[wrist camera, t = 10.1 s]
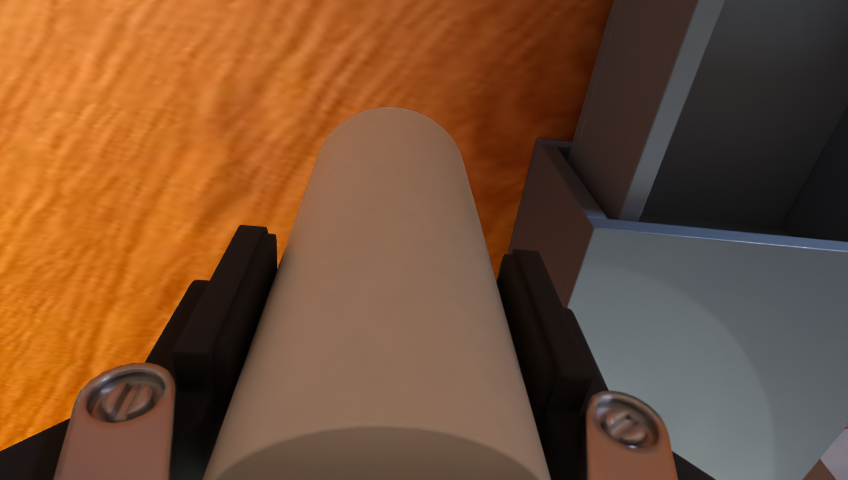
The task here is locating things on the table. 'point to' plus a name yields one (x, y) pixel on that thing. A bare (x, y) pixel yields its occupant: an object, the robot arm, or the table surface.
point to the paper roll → (382, 327)
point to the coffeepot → (832, 461)
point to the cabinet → (701, 324)
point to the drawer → (720, 116)
